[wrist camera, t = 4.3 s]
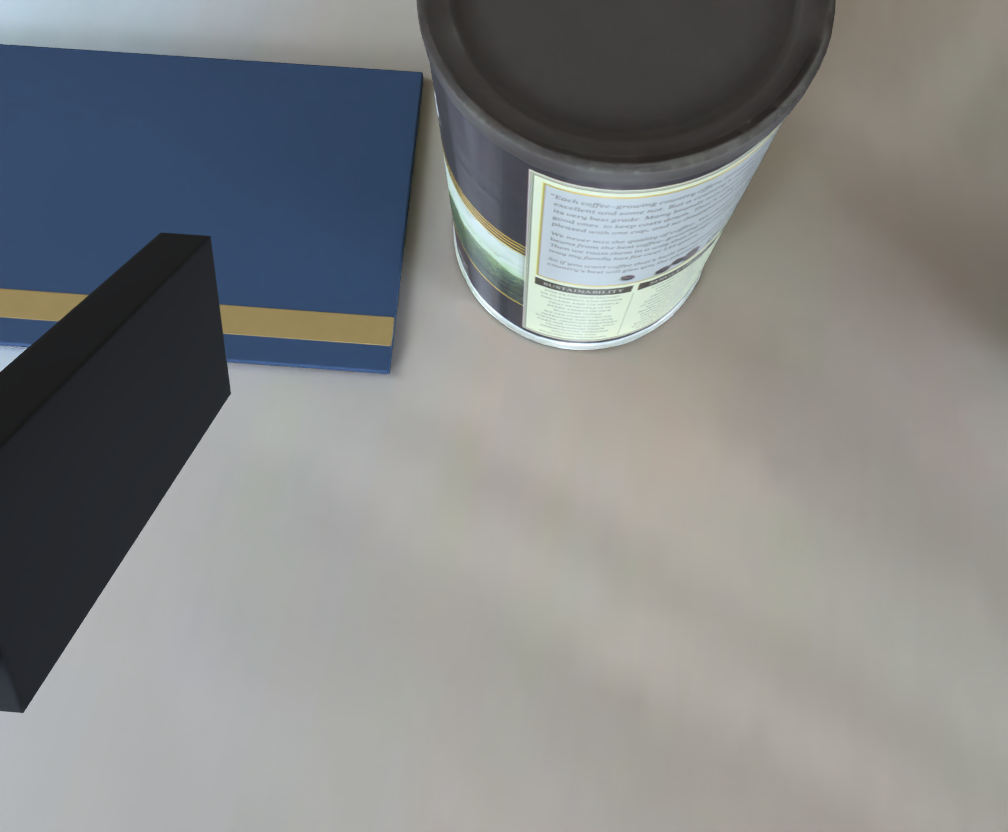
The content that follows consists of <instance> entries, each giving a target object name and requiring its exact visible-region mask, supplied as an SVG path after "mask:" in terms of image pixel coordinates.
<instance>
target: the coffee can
mask: <svg viewBox="0 0 1008 832" xmlns="http://www.w3.org/2000/svg"><path fill="white" fill-rule="evenodd" d="M417 10H418V18H419V24H420V30H421V34H422V38H423V41H424V45H425V48H426V52H427V55H428V58H429V61H430V66H431V73H432V79H433V86H434V92H435V100H436V109H437V115H438V120H439V126H440V132H441V139H442V146H443V152H444V160H445V167H446V174H447V181H448V187H449V195H450V203H451V208H452V215H453V221H454V224H453V235H454V244H455V251H456V255H457V260H458V264H459V266H460V269H461V271H462V274H463V276H464V278H465V280H466V282H467V284H468V286H469V288H470V289H471V291H472V292H473V294H474V296H475V297H476V298H477V299H478V301H479V302H480V303H481V304H482V305H483V306H484V307H485V309H486V310H487V311H488V312H489V313H490V314H491V315H493V316H494V317H495V318H496V319H497V320H499V321H500V322H501V323H502V324H504V325H505V326H507V327H508V328H510V329H511V330H512V331H514V332H516V333H518V334H520V335H521V336H523V337H525V338H528V339H530V340H532V341H535V342H538V343H541V344H545V345H549V346H553V347H557V348H563V349H572V350H592V349H601V348H608V347H613V346H618V345H622V344H626V343H628V342H631V341H633V340H635V339H637V338H639V337H641V336H643V335H645V334H647V333H649V332H651V331H653V330H654V329H656V328H657V327H658V326H660V325H661V324H663V323H664V322H665V321H666V320H668V319H669V318H670V317H672V315H673V314H674V313H675V312H676V311H677V310H678V309H679V308H680V307H681V306H682V304H683V303H684V302H685V301H686V299H687V298H688V297H689V295H690V294H691V292H692V290H693V288H694V287H695V285H696V283H697V282H698V280H699V278H700V275H701V272H702V269H703V266H704V264H705V262H706V260H707V259H708V257H709V255H710V253H711V251H712V250H713V248H714V246H715V244H716V242H717V240H718V239H719V237H720V235H721V233H722V231H723V229H724V228H725V226H726V224H727V222H728V220H729V219H730V217H731V215H732V214H733V212H734V210H735V208H736V206H737V204H738V202H739V200H740V198H741V197H742V195H743V193H744V191H745V189H746V188H747V186H748V184H749V182H750V180H751V179H752V177H753V175H754V173H755V171H756V169H757V168H758V166H759V164H760V162H761V160H762V159H763V157H764V155H765V153H766V152H767V150H768V148H769V146H770V144H771V142H772V140H773V138H774V136H775V135H776V133H777V131H778V129H779V127H780V126H781V124H782V122H783V120H784V119H785V117H786V116H787V115H788V114H789V113H790V112H791V111H792V110H793V108H794V107H795V106H796V104H797V103H798V102H799V100H800V99H801V98H802V96H803V95H804V93H805V92H806V90H807V88H808V87H809V85H810V84H811V82H812V80H813V78H814V77H815V75H816V73H817V71H818V70H819V68H820V65H821V63H822V61H823V58H824V56H825V54H826V51H827V48H828V45H829V42H830V38H831V33H832V27H833V21H834V14H835V0H417Z"/></svg>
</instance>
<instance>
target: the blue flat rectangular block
mask: <svg viewBox="0 0 1008 832" xmlns="http://www.w3.org/2000/svg"><path fill="white" fill-rule="evenodd" d="M422 85H423V73H422V72H409V71H394V70H379V69H364V68H349V67H334V66H319V65H304V64H289V63H274V62H259V61H244V60H229V59H214V58H199V57H184V56H168V55H153V54H138V53H123V52H108V51H93V50H78V49H63V48H48V47H33V46H18V45H3V44H0V345H10V346H23V347H30V346H31V345H32V344H33V343H34V342H35V341H37V340H38V339H39V338H40V337H41V336H42V335H43V334H45V333H46V332H47V331H48V330H49V329H50V328H51V327H53V326H54V325H55V324H56V323H57V322H58V321H59V320H61V319H62V318H63V317H64V316H65V315H66V314H68V313H69V312H70V311H71V310H72V309H73V308H74V307H76V306H77V305H78V304H79V303H80V302H81V301H82V300H84V299H85V298H86V297H87V296H88V295H89V294H90V293H92V292H93V291H94V290H95V289H96V288H97V287H99V286H100V285H101V284H102V283H103V282H104V281H105V280H107V279H108V278H109V277H110V276H111V275H112V274H113V273H115V272H116V271H117V270H118V269H119V268H120V267H121V266H123V265H124V264H125V263H126V262H127V261H128V260H130V259H131V258H132V257H133V256H134V255H135V254H136V253H138V252H139V251H140V250H141V249H142V248H143V247H144V246H146V245H147V244H148V243H149V242H150V241H151V240H152V239H154V238H155V237H156V236H157V235H158V234H159V233H161V232H163V233H177V234H191V235H205V236H211V243H212V250H213V258H214V266H215V274H216V282H217V289H218V297H219V305H220V313H221V321H222V329H223V336H224V344H225V352H226V360H227V362H237V363H250V364H263V365H277V366H290V367H303V368H317V369H330V370H343V371H357V372H370V373H383V374H389V373H390V365H391V356H392V347H393V339H394V330H395V321H396V312H397V304H398V295H399V286H400V278H401V269H402V260H403V251H404V243H405V234H406V225H407V216H408V208H409V199H410V190H411V181H412V173H413V164H414V155H415V147H416V138H417V129H418V120H419V112H420V103H421V94H422Z"/></svg>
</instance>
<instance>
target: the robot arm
mask: <svg viewBox="0 0 1008 832" xmlns="http://www.w3.org/2000/svg"><path fill="white" fill-rule="evenodd" d="M230 394H231V391H230V383H229V375H228V368H227V360H226V352H225V344H224V336H223V329H222V321H221V313H220V305H219V297H218V289H217V282H216V274H215V266H214V258H213V250H212V243H211V236H205V235H191V234H177V233H163V232H161V233H159V234H158V235H157V236H156V237H155V238H154V239H152V240H151V241H150V242H149V243H148V244H147V245H146V246H144V247H143V248H142V249H141V250H140V251H139V252H138V253H136V254H135V255H134V256H133V257H132V258H131V259H130V260H128V261H127V262H126V263H125V264H124V265H123V266H121V267H120V268H119V269H118V270H117V271H116V272H115V273H113V274H112V275H111V276H110V277H109V278H108V279H107V280H105V281H104V282H103V283H102V284H101V285H100V286H99V287H97V288H96V289H95V290H94V291H93V292H92V293H90V294H89V295H88V296H87V297H86V298H85V299H84V300H82V301H81V302H80V303H79V304H78V305H77V306H76V307H74V308H73V309H72V310H71V311H70V312H69V313H68V314H66V315H65V316H64V317H63V318H62V319H61V320H59V321H58V322H57V323H56V324H55V325H54V326H53V327H51V328H50V329H49V330H48V331H47V332H46V333H45V334H43V335H42V336H41V337H40V338H39V339H38V340H37V341H35V342H34V343H33V344H32V345H31V346H30V347H28V348H27V349H26V350H25V351H24V352H23V353H22V354H20V355H19V356H18V357H17V358H16V359H15V360H14V361H12V362H11V363H10V364H9V365H8V366H7V367H6V368H4V369H3V370H2V371H1V372H0V711H7V712H19V713H23V712H24V711H25V709H26V708H27V706H28V705H29V703H30V702H31V700H32V699H33V697H34V695H35V694H36V692H37V691H38V689H39V688H40V686H41V685H42V683H43V682H44V680H45V679H46V677H47V675H48V674H49V672H50V671H51V669H52V668H53V666H54V665H55V663H56V662H57V660H58V659H59V657H60V655H61V654H62V652H63V651H64V649H65V648H66V646H67V645H68V643H69V642H70V640H71V638H72V637H73V635H74V634H75V632H76V631H77V629H78V628H79V626H80V625H81V623H82V622H83V620H84V618H85V617H86V615H87V614H88V612H89V611H90V609H91V608H92V606H93V605H94V603H95V602H96V600H97V598H98V597H99V595H100V594H101V592H102V591H103V589H104V588H105V586H106V585H107V583H108V582H109V580H110V578H111V577H112V575H113V574H114V572H115V571H116V569H117V568H118V566H119V565H120V563H121V562H122V560H123V558H124V557H125V555H126V554H127V552H128V551H129V549H130V548H131V546H132V545H133V543H134V541H135V540H136V538H137V537H138V535H139V534H140V532H141V531H142V529H143V528H144V526H145V525H146V523H147V521H148V520H149V518H150V517H151V515H152V514H153V512H154V511H155V509H156V508H157V506H158V505H159V503H160V501H161V500H162V498H163V497H164V495H165V494H166V492H167V491H168V489H169V488H170V486H171V485H172V483H173V481H174V480H175V478H176V477H177V475H178V474H179V472H180V471H181V469H182V468H183V466H184V465H185V463H186V461H187V460H188V458H189V457H190V455H191V454H192V452H193V451H194V449H195V448H196V446H197V445H198V443H199V441H200V440H201V438H202V437H203V435H204V434H205V432H206V431H207V429H208V428H209V426H210V424H211V423H212V421H213V420H214V418H215V417H216V415H217V414H218V412H219V411H220V409H221V408H222V406H223V404H224V403H225V401H226V400H227V398H228V397H229V395H230Z"/></svg>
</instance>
